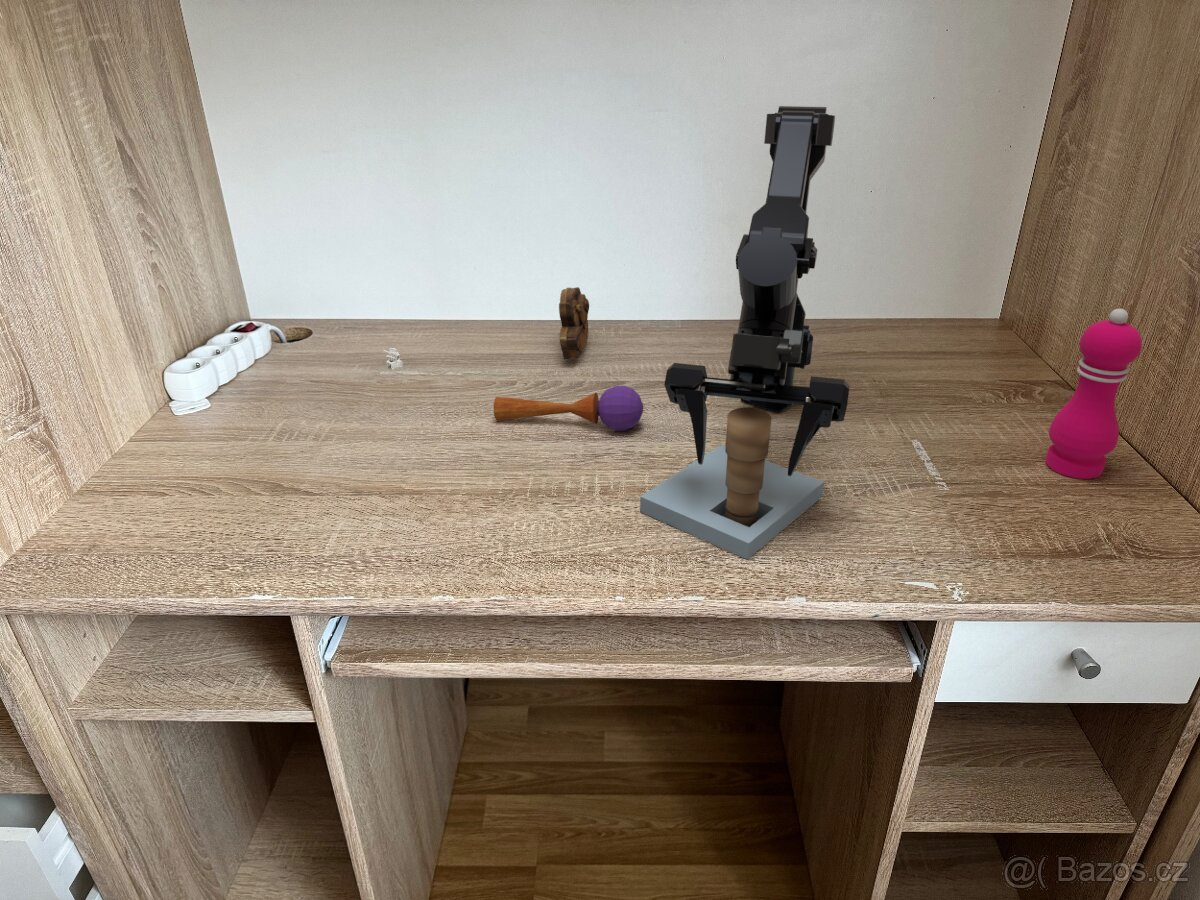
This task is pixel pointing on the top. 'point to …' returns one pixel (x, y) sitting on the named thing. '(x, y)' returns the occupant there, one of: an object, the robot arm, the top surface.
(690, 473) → the seat board
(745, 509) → the leg
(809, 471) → the top surface
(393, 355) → the white figurine
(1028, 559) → the top surface
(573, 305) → the wooden carving
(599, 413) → the kendama
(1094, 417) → the pepper mill
